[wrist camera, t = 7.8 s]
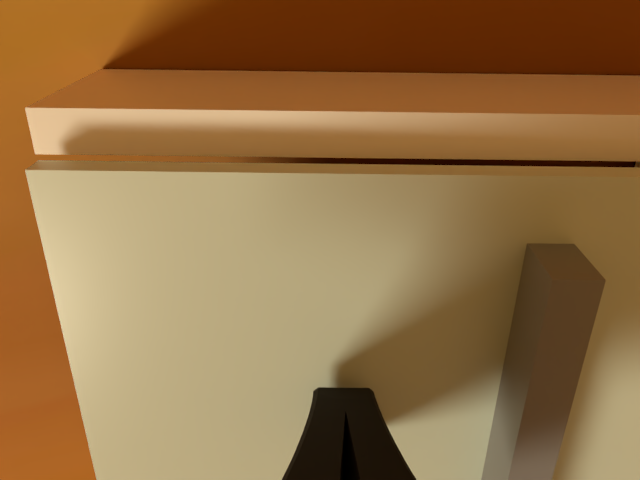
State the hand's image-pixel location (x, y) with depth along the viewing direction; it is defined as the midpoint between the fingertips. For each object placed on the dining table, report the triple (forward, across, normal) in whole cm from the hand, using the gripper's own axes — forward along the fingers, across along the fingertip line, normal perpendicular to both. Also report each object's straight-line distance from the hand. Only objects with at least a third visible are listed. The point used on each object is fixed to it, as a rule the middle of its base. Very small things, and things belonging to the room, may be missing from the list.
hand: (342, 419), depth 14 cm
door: (+1, -1, 0) cm, 2 cm away
